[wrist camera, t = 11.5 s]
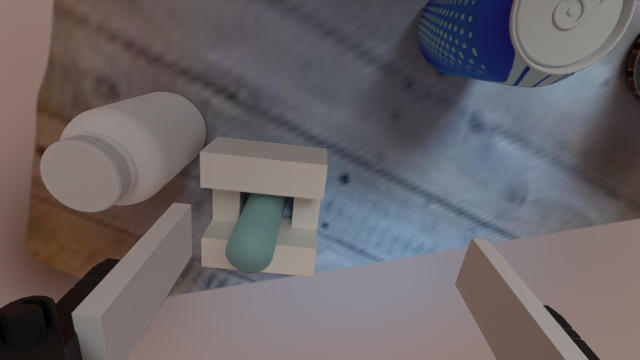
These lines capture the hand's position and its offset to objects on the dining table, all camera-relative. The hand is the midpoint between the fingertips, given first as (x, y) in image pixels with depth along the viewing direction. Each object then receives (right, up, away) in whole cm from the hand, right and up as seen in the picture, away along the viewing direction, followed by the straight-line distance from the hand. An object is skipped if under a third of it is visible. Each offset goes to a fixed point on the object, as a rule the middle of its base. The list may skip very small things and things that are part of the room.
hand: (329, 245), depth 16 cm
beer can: (+13, +18, +17) cm, 28 cm away
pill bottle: (-17, +9, +21) cm, 28 cm away
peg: (-6, +1, +23) cm, 24 cm away
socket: (-6, +1, +23) cm, 24 cm away
